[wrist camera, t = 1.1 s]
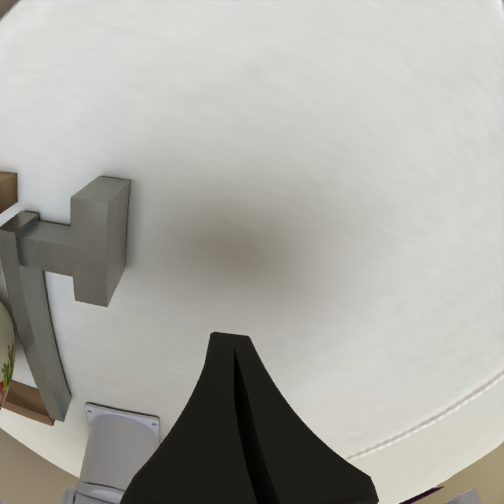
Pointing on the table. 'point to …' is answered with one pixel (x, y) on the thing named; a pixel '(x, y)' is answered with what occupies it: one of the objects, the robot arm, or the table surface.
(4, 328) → the pitcher
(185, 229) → the table surface
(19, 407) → the walnut holder
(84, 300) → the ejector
